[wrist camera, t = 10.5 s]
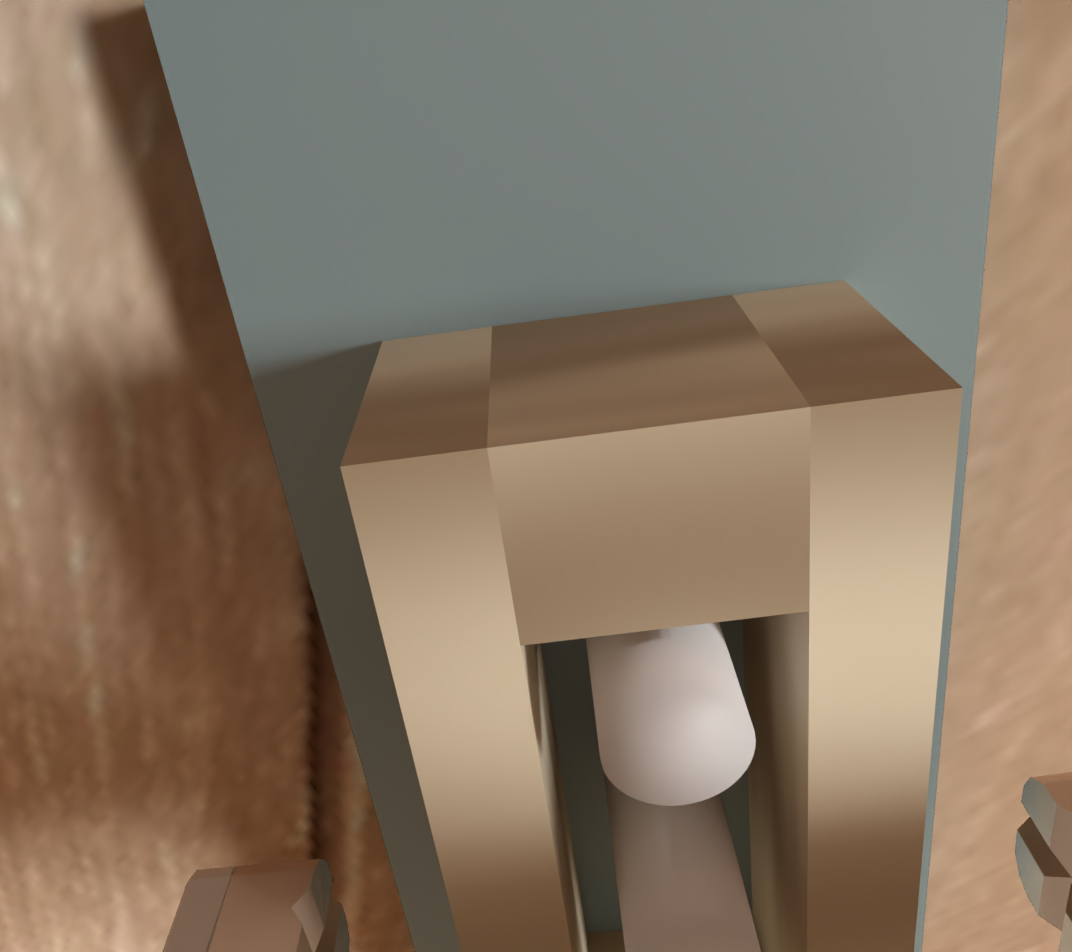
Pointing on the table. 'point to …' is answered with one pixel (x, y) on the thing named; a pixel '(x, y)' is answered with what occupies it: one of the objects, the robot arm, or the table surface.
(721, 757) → the boss board
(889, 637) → the beige wooden rectangular frame
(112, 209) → the table surface
